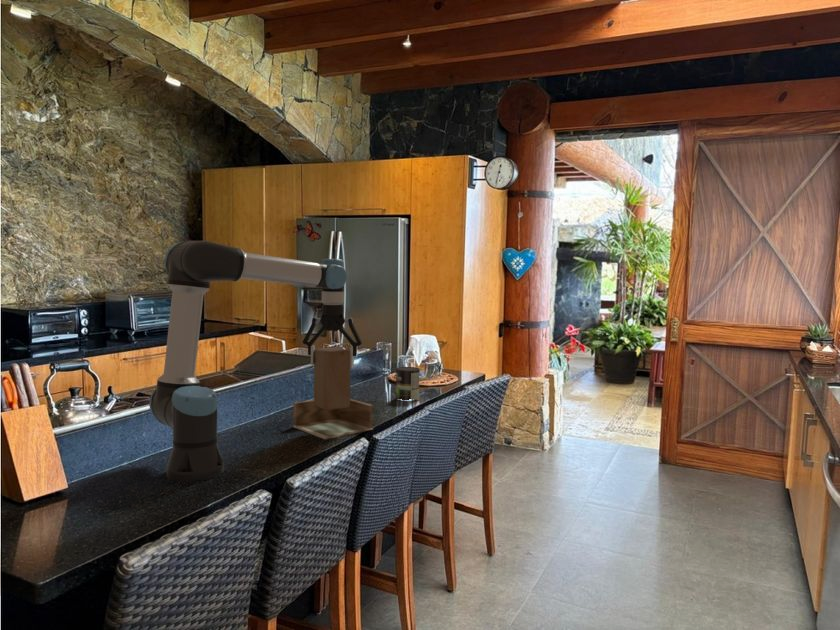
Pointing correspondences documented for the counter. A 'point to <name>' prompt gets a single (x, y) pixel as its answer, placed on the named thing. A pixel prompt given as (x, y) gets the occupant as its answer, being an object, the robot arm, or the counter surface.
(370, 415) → the corner arena
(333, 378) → the wooden block
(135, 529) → the counter surface
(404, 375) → the coffee can
